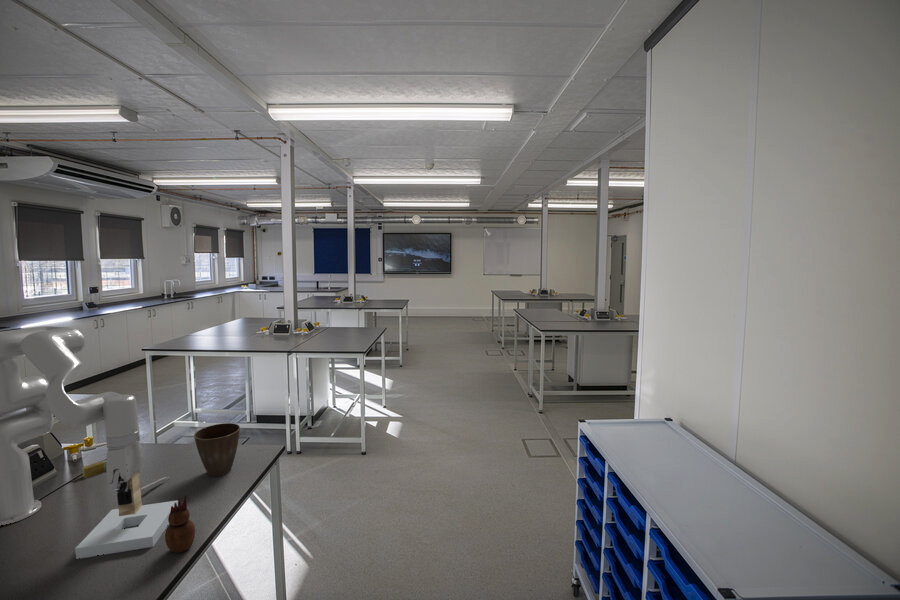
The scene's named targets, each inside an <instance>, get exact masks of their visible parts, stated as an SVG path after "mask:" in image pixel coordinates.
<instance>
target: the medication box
mask: <svg viewBox="0 0 900 600" xmlns="http://www.w3.org/2000/svg"><path fill="white" fill-rule="evenodd" d="M106 460H107V459H104V460H101V461H97V462H95V463H91V464H89V465H85V466H84V467H83V466H82V467H81V470H82V477H83V478H84V479H89V478H92V477H94V476H97V475H98V476H99V475H100V474H103V473H107V468H106Z"/></svg>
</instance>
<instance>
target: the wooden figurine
mask: <svg viewBox="0 0 900 600" xmlns="http://www.w3.org/2000/svg"><path fill="white" fill-rule="evenodd" d="M177 500H178V507H177V504H176V502H175V503H174V507H173V506H171V511H170V514H169V517H168V522H169V524H168V526H167V527H166V529H165V533H164V541H165V543H166V547H167V549H168V550H169V551H170V552H171V553H175V554H177V553H178V554H179V553H184V552H185V551H187V550H189V549H190V548H191V547H192V546H193V543H194V541H195V537H196V526H195V523H194V521H192V520H191V519H190V514H191V512H190V511H189V509H188V508H187V507H188V503H187V494H185V495H184V498H183V501H181V499H180V497H178V499H177Z"/></svg>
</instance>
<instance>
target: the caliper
mask: <svg viewBox="0 0 900 600" xmlns="http://www.w3.org/2000/svg"><path fill="white" fill-rule="evenodd" d="M168 478H170V477H169V476H164V477H162V478H160V479H158V480H156V481H153V482H151V483H149V484H146V485H145V486H143V487H140V491H141V494H143V493H145V492H148V491H150V490H152V489H154V488H156V487H158V486H160V485H161V484H164V483H165V481H166V480H167V481H168V480H169V479H168ZM167 481H166V482H167ZM163 482H164V483H163Z"/></svg>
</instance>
